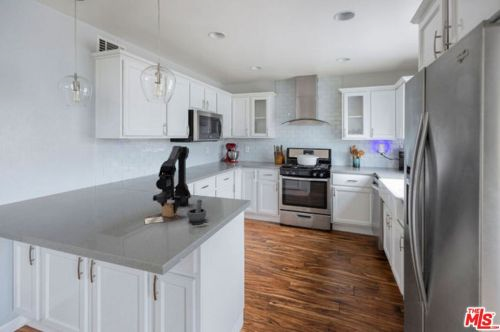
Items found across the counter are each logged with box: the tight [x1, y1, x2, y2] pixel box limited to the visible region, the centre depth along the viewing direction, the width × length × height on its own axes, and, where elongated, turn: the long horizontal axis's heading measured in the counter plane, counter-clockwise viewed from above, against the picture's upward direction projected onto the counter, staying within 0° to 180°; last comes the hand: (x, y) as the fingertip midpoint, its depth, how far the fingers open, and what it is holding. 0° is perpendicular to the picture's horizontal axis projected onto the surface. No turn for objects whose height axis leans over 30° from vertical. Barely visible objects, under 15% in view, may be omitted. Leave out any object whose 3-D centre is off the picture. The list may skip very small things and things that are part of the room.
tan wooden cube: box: [161, 201, 179, 217], centre depth 145 cm, size 6×6×6 cm
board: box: [142, 214, 181, 226], centre depth 140 cm, size 18×14×6 cm
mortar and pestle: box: [186, 199, 207, 227], centre depth 136 cm, size 11×9×12 cm
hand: (170, 213), depth 145 cm, fingers closed on tan wooden cube, 6 cm apart
